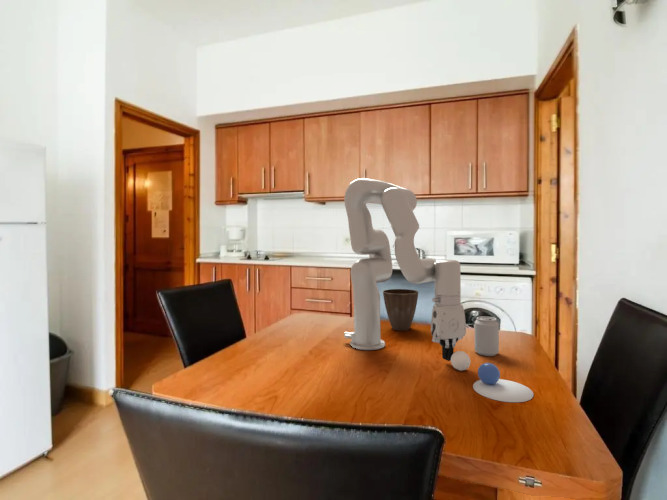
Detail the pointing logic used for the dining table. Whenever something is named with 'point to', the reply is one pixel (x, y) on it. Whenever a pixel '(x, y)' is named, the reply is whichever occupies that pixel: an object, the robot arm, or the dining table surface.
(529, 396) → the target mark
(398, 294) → the plant pot
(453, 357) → the cue ball
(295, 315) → the dining table surface
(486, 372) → the object ball
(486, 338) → the can
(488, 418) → the dining table surface
